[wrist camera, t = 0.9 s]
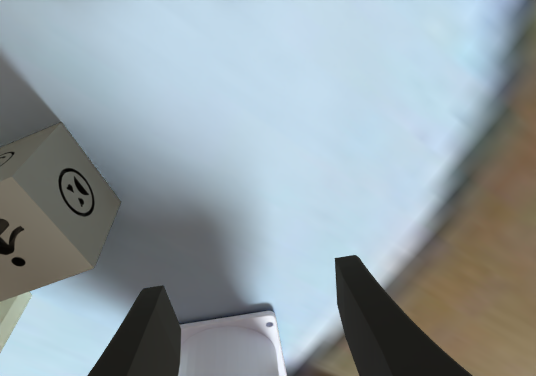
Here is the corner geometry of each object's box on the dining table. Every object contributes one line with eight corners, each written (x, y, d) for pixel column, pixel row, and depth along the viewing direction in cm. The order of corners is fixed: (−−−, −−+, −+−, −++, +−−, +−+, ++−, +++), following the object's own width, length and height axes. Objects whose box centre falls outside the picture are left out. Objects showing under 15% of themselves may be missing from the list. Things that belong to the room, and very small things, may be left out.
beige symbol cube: (62, 121, 18) (11, 176, 14) (121, 201, 21) (94, 268, 17) (-28, 158, 19) (-102, 222, 14) (41, 231, 21) (-5, 303, 17)
